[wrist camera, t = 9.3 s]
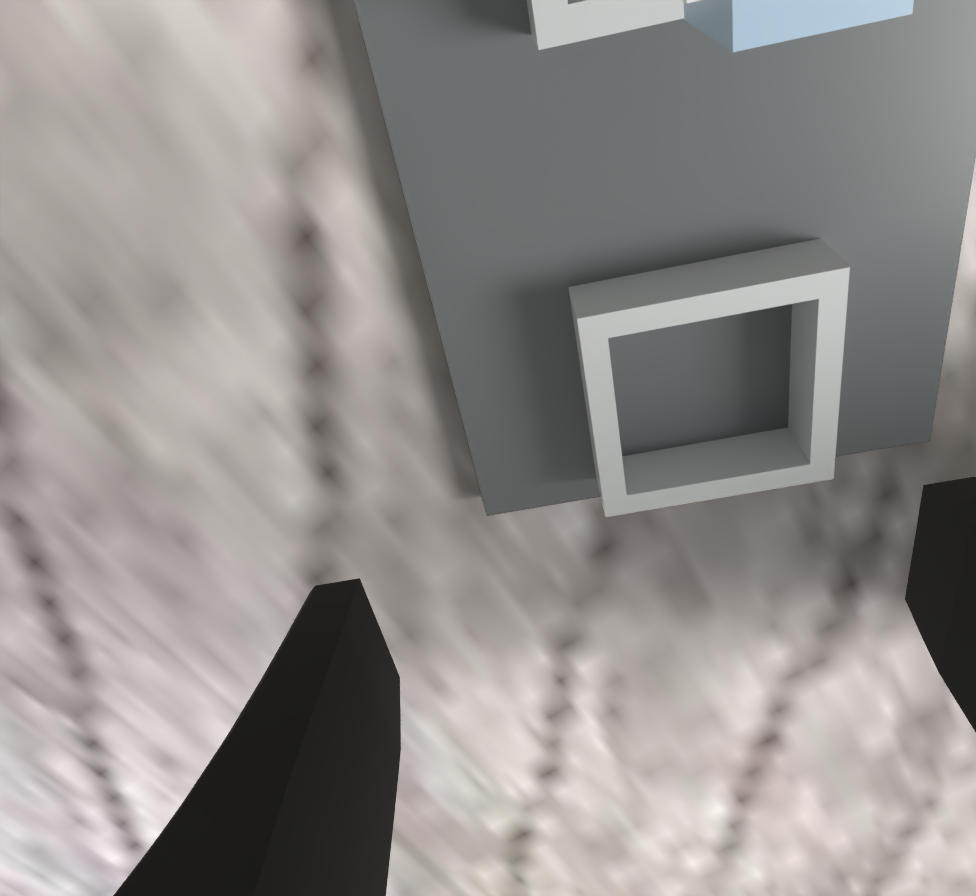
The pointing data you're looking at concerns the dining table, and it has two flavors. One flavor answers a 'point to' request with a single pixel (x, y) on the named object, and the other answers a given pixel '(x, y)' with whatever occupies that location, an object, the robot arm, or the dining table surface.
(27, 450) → the dining table surface
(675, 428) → the port board
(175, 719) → the dining table surface
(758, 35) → the plug
